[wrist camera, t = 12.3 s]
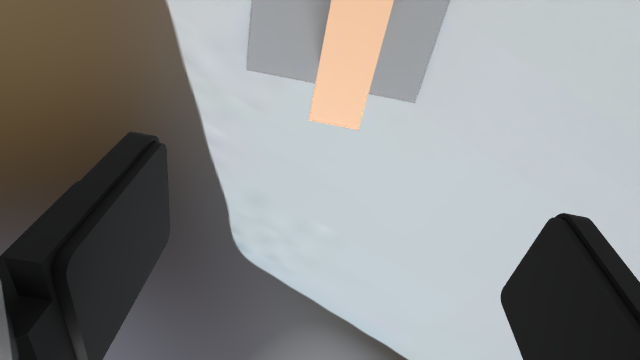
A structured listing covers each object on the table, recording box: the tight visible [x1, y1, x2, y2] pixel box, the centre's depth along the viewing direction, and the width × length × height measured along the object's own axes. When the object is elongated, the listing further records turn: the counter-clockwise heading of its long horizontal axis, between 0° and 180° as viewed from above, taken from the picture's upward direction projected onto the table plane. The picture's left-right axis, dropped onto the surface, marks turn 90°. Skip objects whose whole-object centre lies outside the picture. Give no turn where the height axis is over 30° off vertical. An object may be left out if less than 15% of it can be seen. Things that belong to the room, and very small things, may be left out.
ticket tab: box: [309, 0, 394, 130], centre depth 25 cm, size 3×8×10 cm, turn 169°
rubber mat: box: [247, 0, 450, 103], centre depth 29 cm, size 14×11×1 cm
